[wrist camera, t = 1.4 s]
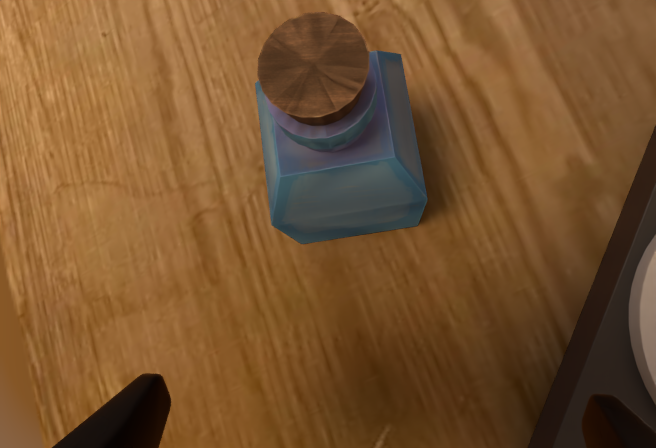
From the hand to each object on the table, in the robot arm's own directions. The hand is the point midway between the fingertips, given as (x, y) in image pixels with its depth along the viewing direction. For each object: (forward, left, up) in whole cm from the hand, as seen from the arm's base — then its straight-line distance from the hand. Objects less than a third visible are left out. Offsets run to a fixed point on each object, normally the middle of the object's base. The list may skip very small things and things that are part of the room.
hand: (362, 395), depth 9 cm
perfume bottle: (+7, +5, -13) cm, 16 cm away
